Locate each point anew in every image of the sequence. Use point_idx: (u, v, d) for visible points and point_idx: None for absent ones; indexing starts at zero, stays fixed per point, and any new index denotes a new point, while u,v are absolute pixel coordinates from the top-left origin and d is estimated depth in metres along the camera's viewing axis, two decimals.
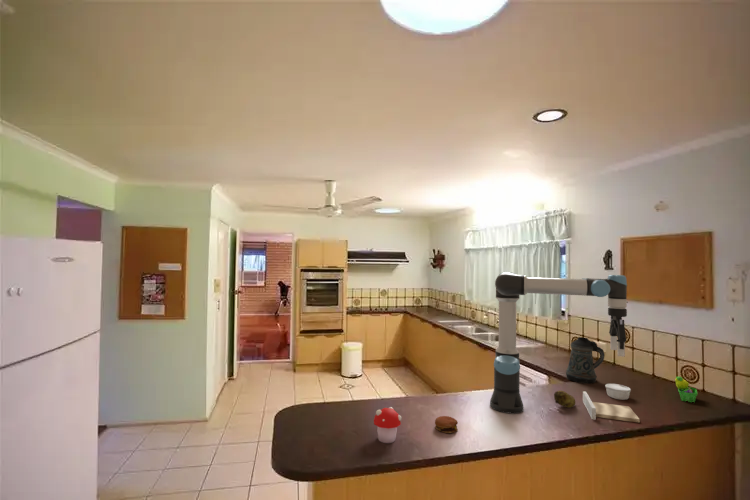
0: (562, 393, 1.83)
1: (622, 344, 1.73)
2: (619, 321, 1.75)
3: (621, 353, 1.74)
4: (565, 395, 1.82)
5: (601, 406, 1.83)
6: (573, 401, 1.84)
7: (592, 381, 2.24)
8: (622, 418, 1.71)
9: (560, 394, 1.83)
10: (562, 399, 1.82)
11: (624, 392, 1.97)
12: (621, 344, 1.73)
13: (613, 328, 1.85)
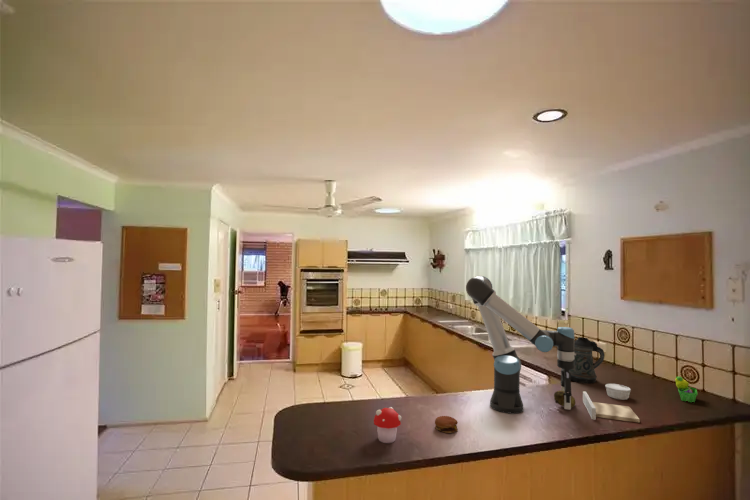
0: (562, 393, 1.83)
1: (568, 398, 1.79)
2: (566, 375, 1.81)
3: (567, 406, 1.80)
4: None
5: (601, 406, 1.83)
6: (573, 401, 1.84)
7: (592, 381, 2.24)
8: (622, 418, 1.71)
9: (560, 394, 1.83)
10: (562, 399, 1.82)
11: (624, 392, 1.97)
12: (567, 398, 1.79)
13: (563, 379, 1.90)
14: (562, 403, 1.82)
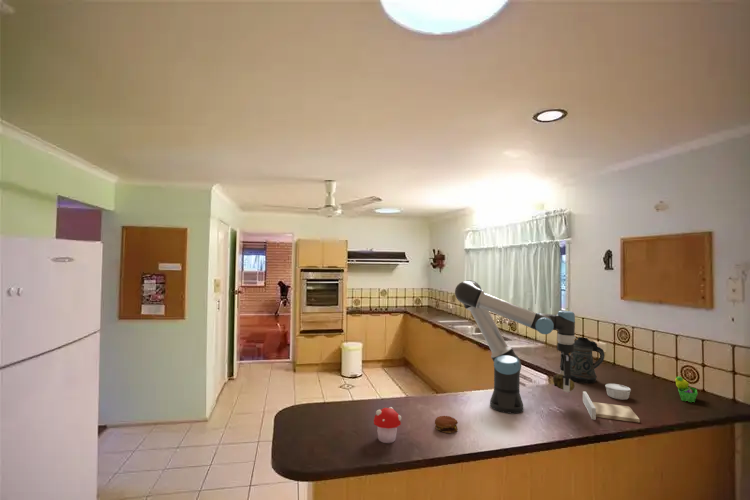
0: (561, 376, 1.84)
1: (567, 380, 1.79)
2: (565, 358, 1.81)
3: (566, 389, 1.80)
4: None
5: (601, 406, 1.83)
6: (572, 384, 1.85)
7: (592, 381, 2.24)
8: (622, 418, 1.71)
9: (559, 377, 1.83)
10: (561, 382, 1.82)
11: (624, 392, 1.97)
12: (566, 380, 1.80)
13: None
14: (561, 386, 1.82)
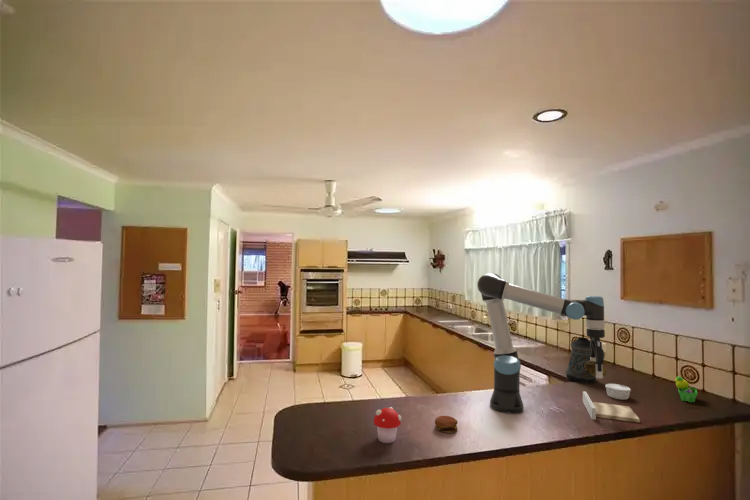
0: (593, 362, 1.79)
1: (600, 366, 1.75)
2: (597, 343, 1.77)
3: (599, 375, 1.76)
4: None
5: (601, 406, 1.83)
6: (604, 371, 1.80)
7: (592, 381, 2.24)
8: (622, 418, 1.71)
9: (591, 363, 1.79)
10: (593, 368, 1.78)
11: (624, 392, 1.97)
12: (599, 366, 1.75)
13: (592, 349, 1.86)
14: (593, 372, 1.78)
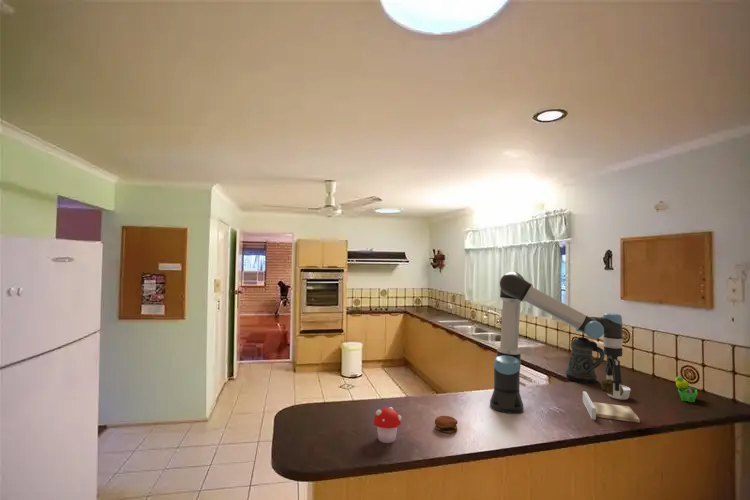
0: (610, 381, 1.77)
1: (617, 386, 1.72)
2: (615, 362, 1.74)
3: (616, 395, 1.73)
4: None
5: (601, 406, 1.83)
6: (621, 390, 1.78)
7: (592, 381, 2.24)
8: (622, 418, 1.71)
9: (608, 382, 1.76)
10: (610, 387, 1.75)
11: (624, 392, 1.97)
12: (616, 386, 1.73)
13: (609, 367, 1.84)
14: (610, 391, 1.75)
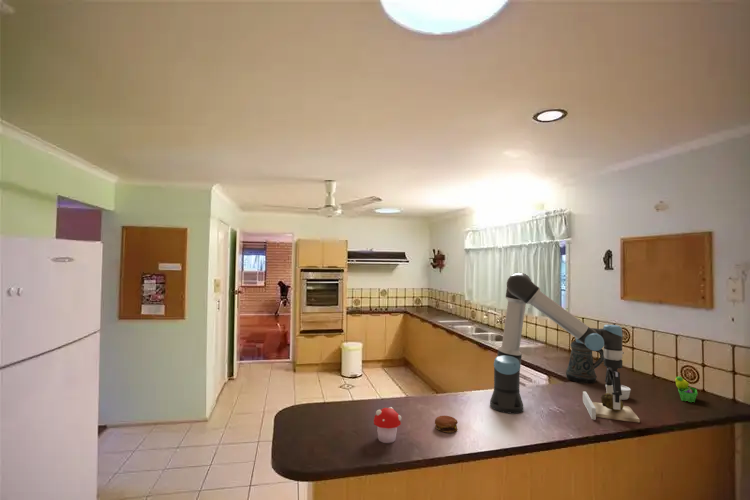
0: (610, 396, 1.76)
1: (617, 397, 1.72)
2: (615, 374, 1.74)
3: (617, 406, 1.73)
4: None
5: (601, 406, 1.83)
6: (621, 404, 1.77)
7: (592, 381, 2.24)
8: (622, 418, 1.71)
9: (608, 397, 1.76)
10: (610, 402, 1.74)
11: (624, 392, 1.97)
12: (616, 397, 1.72)
13: (609, 378, 1.84)
14: (610, 406, 1.75)
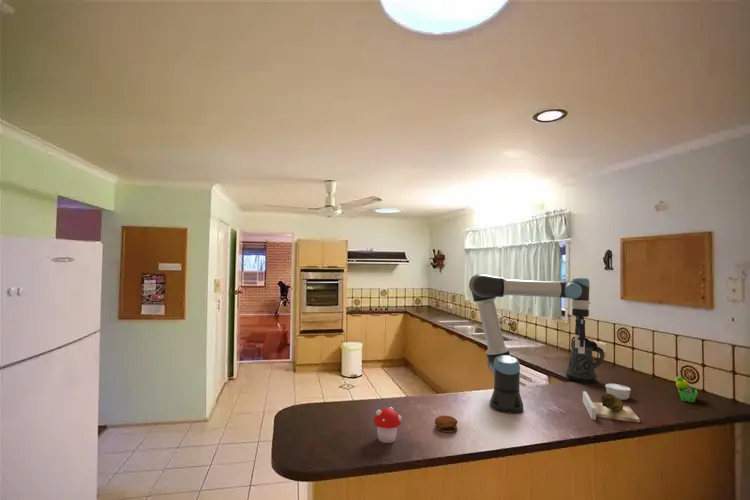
0: (610, 396, 1.76)
1: (582, 342, 1.86)
2: (580, 321, 1.88)
3: (581, 350, 1.87)
4: (613, 398, 1.75)
5: (601, 406, 1.83)
6: (621, 404, 1.77)
7: (592, 381, 2.24)
8: (622, 418, 1.71)
9: (608, 397, 1.76)
10: (610, 402, 1.75)
11: (624, 392, 1.97)
12: (581, 342, 1.86)
13: (577, 327, 1.98)
14: (610, 406, 1.75)
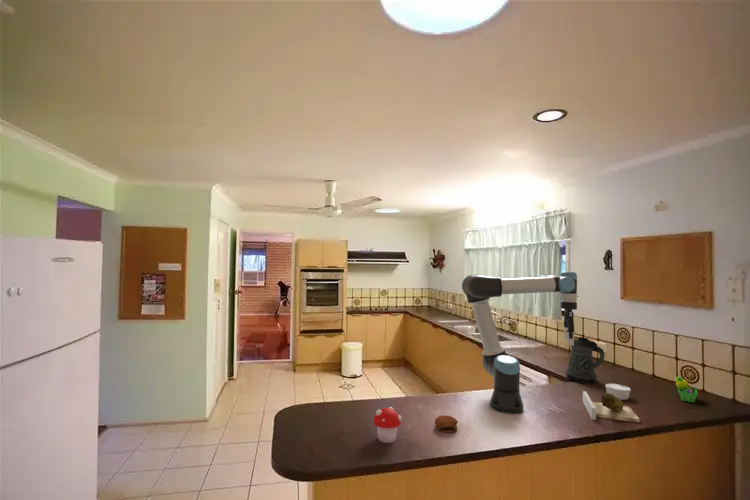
0: (610, 396, 1.76)
1: (571, 334, 1.91)
2: (569, 313, 1.93)
3: (570, 342, 1.92)
4: (613, 398, 1.75)
5: (601, 406, 1.83)
6: (621, 404, 1.77)
7: (592, 381, 2.24)
8: (622, 418, 1.71)
9: (608, 397, 1.76)
10: (610, 402, 1.75)
11: (624, 392, 1.97)
12: (570, 334, 1.92)
13: (566, 320, 2.03)
14: (610, 406, 1.75)
